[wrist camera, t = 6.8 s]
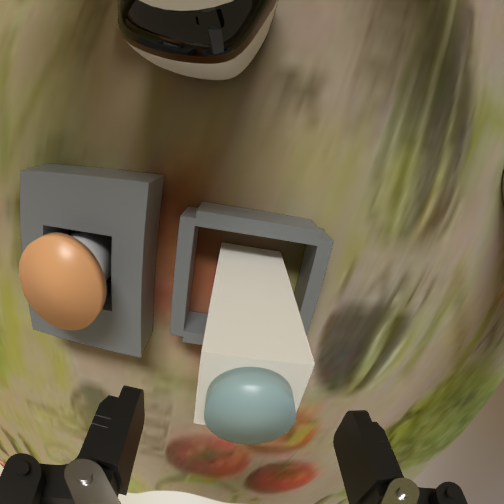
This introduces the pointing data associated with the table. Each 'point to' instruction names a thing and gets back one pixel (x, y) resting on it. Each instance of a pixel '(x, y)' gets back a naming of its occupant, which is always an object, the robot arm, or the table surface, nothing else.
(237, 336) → the square rod with knob
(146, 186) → the socket blocks
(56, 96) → the table surface
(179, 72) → the spread jar
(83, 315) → the tan mushroom peg
